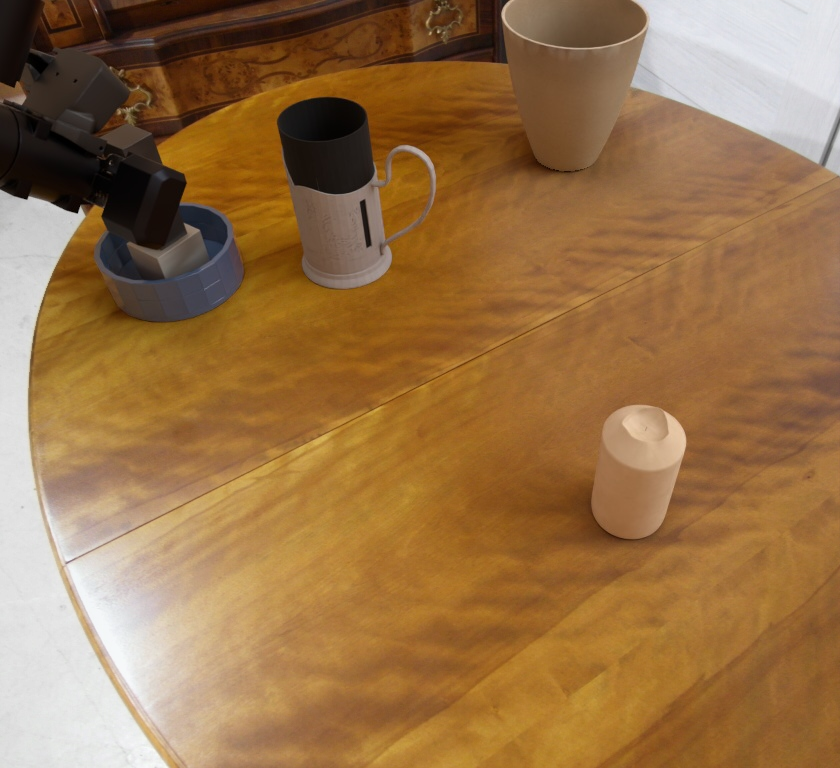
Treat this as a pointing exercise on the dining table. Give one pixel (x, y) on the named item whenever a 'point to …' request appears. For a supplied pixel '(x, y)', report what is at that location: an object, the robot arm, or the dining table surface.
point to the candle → (636, 470)
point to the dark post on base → (183, 239)
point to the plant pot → (571, 72)
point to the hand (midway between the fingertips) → (164, 200)
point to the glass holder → (339, 191)
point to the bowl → (181, 292)
